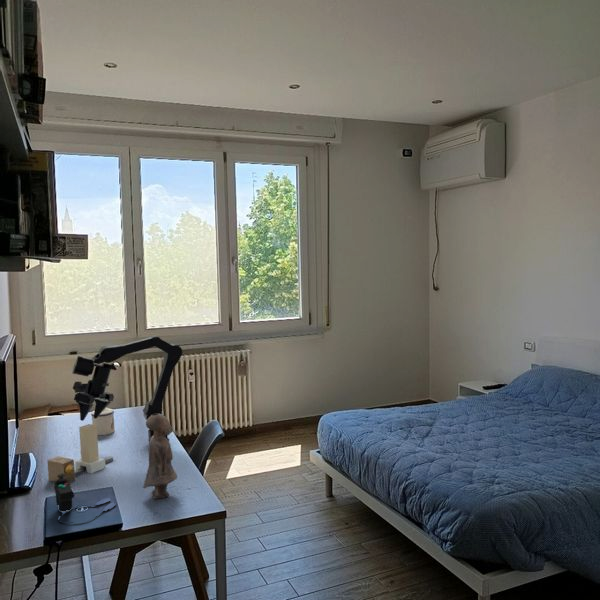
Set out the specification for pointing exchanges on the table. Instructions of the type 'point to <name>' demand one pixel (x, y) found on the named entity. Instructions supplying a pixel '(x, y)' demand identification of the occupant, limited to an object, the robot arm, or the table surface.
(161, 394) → the robot arm
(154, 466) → the clay figurine
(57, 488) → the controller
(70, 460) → the brown block with rod
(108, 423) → the teacup with lid
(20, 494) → the table surface
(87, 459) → the cream block on base
